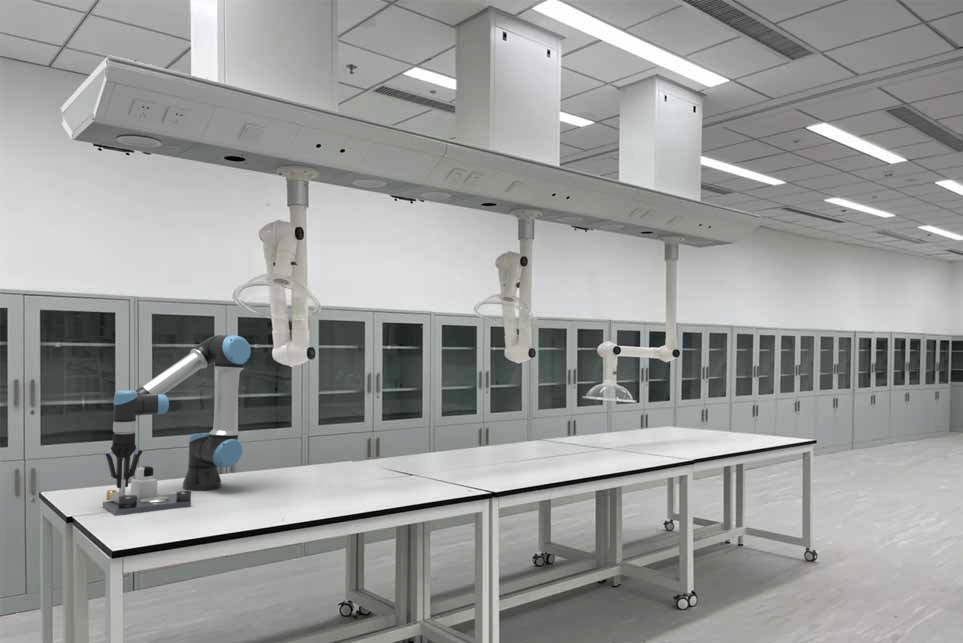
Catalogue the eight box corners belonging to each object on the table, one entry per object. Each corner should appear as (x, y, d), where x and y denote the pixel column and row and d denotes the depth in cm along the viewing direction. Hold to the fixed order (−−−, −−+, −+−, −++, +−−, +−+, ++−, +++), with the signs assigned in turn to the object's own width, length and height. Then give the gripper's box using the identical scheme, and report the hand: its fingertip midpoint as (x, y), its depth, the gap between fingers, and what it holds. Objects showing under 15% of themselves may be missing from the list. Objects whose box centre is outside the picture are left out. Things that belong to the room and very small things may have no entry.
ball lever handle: (139, 505, 258) (140, 496, 258) (122, 508, 253) (123, 498, 253) (117, 497, 269) (118, 489, 269) (100, 500, 265) (101, 491, 265)
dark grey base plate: (175, 498, 280) (175, 493, 280) (190, 506, 269) (190, 500, 269) (102, 507, 263) (103, 501, 263) (115, 515, 251) (115, 509, 251)
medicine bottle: (148, 495, 286) (149, 464, 286) (157, 497, 281) (158, 467, 282) (130, 497, 280) (131, 466, 281) (138, 500, 276) (140, 469, 276)
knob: (192, 501, 269) (193, 492, 269) (179, 502, 265) (179, 493, 265) (185, 497, 274) (185, 489, 274) (171, 499, 271) (172, 490, 271)
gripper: (139, 430, 273) (137, 492, 272) (102, 432, 264) (99, 496, 263) (145, 432, 267) (143, 496, 267) (108, 435, 258) (105, 500, 258)
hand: (121, 496), depth 265 cm, fingers closed
